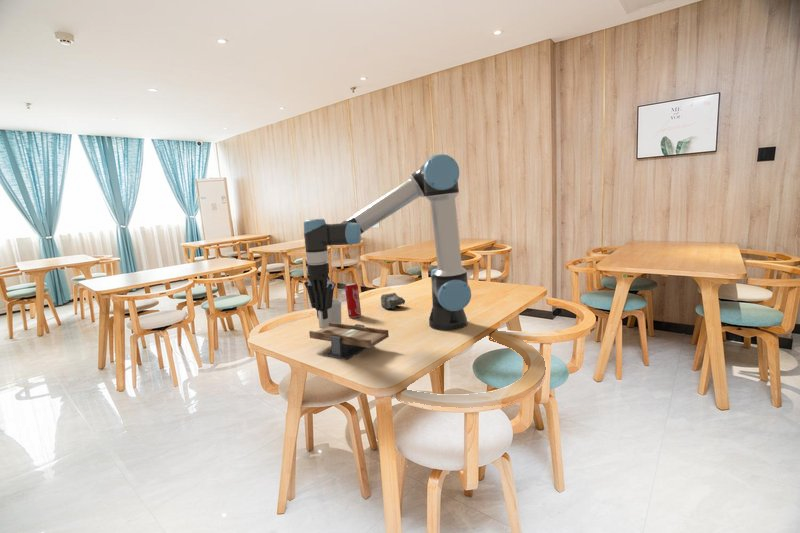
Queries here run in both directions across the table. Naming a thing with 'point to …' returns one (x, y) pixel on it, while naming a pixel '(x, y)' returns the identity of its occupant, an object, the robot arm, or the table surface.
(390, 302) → the rock
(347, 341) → the beam
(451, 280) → the robot arm
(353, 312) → the beverage can
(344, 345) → the pivot stand
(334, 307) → the cup
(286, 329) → the table surface
